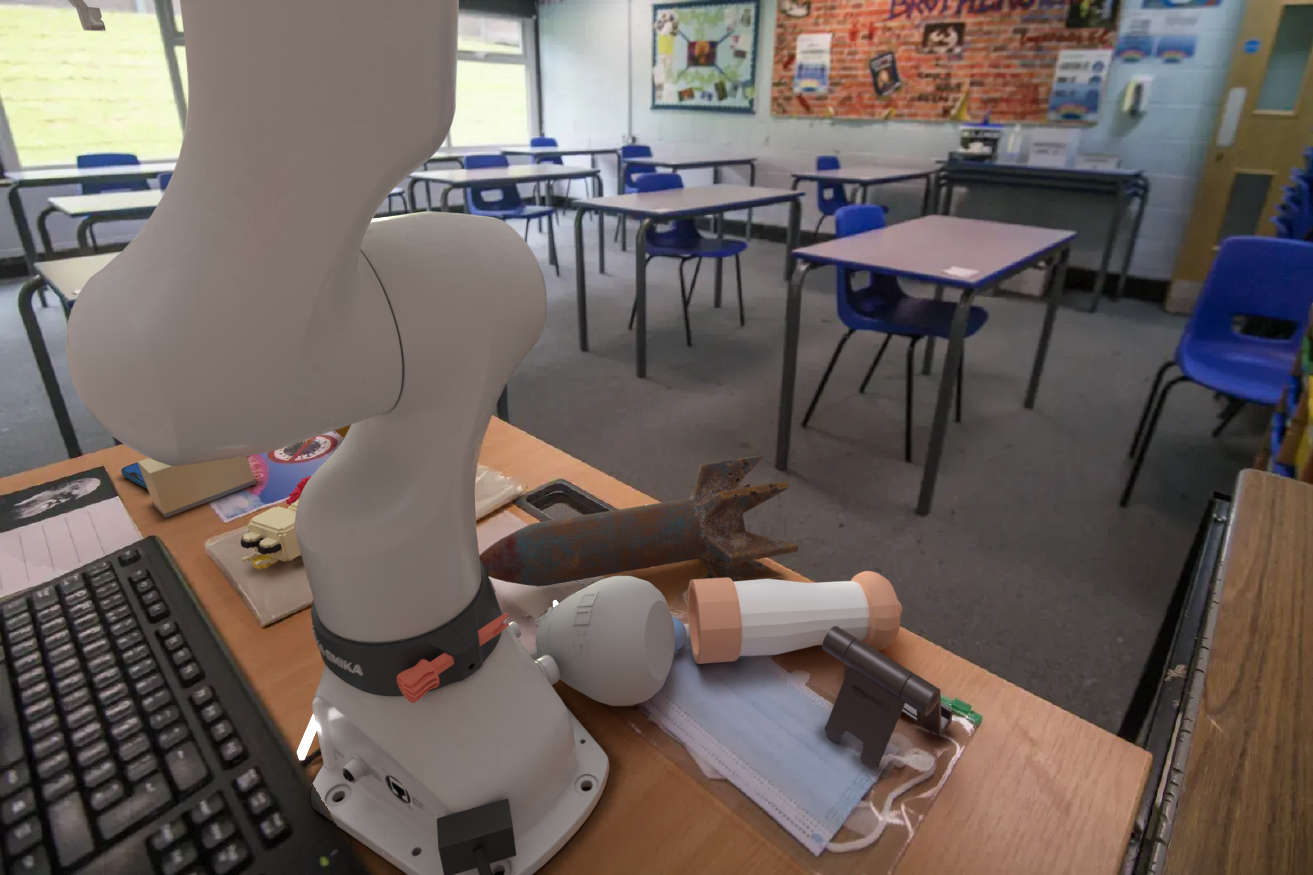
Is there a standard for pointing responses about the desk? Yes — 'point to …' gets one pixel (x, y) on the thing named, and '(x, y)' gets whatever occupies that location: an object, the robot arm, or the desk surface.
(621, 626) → the grey space capsule
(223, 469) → the block
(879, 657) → the tablet stand
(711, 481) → the rusty missile
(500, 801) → the robot arm
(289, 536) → the blocky cream chicken toy
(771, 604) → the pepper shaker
